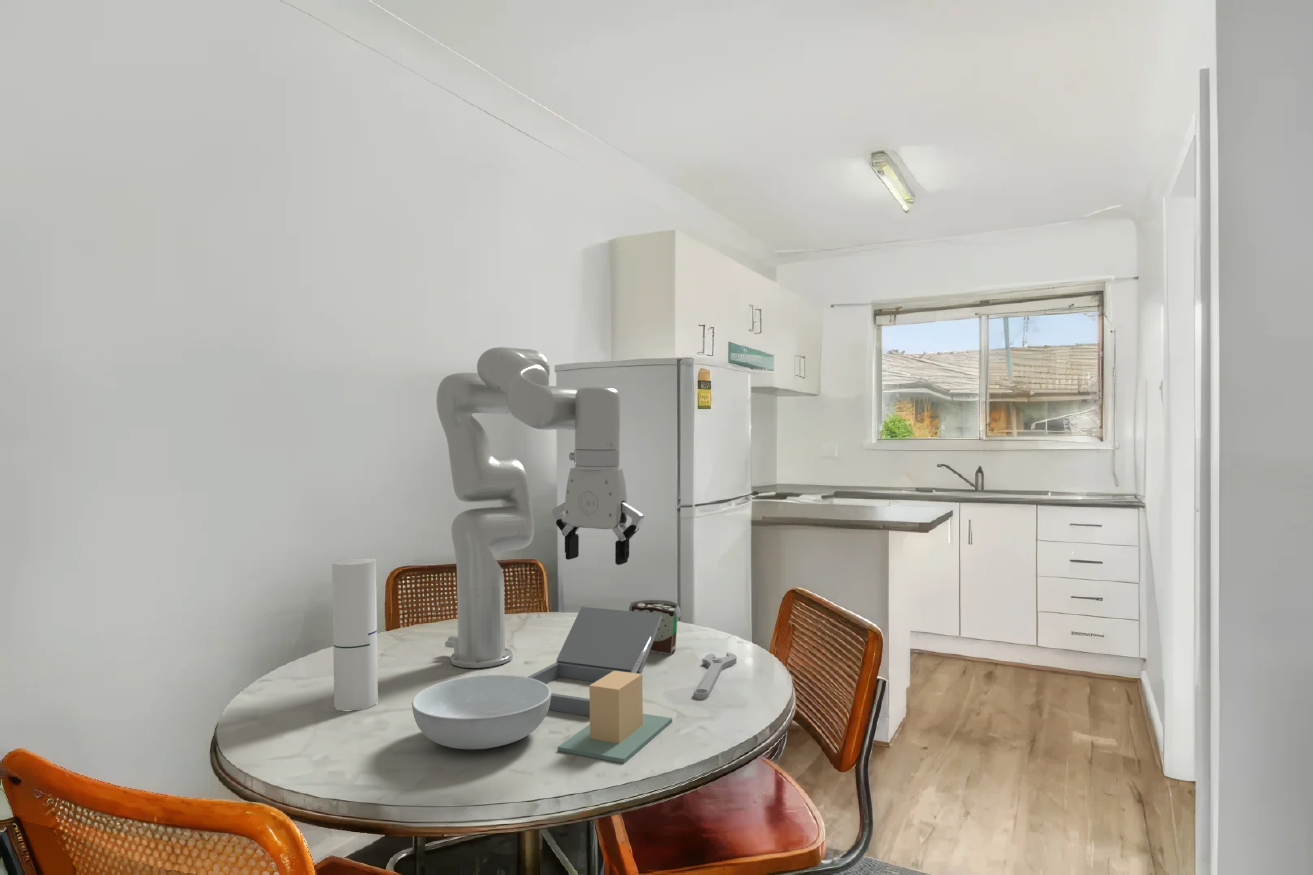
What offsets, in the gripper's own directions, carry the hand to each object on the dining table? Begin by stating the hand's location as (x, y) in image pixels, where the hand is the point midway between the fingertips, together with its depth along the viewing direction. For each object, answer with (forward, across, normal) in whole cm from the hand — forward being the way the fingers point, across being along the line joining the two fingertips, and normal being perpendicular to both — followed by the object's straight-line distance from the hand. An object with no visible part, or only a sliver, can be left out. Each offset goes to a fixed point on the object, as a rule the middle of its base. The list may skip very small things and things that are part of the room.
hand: (596, 560), depth 130 cm
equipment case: (+26, -7, +10) cm, 28 cm away
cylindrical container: (+26, -40, -15) cm, 50 cm away
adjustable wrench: (+26, +12, +24) cm, 37 cm away
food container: (+26, -5, +38) cm, 46 cm away
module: (+24, +9, -9) cm, 27 cm away
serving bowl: (+26, -9, -18) cm, 33 cm away
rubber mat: (+25, +9, -9) cm, 28 cm away
